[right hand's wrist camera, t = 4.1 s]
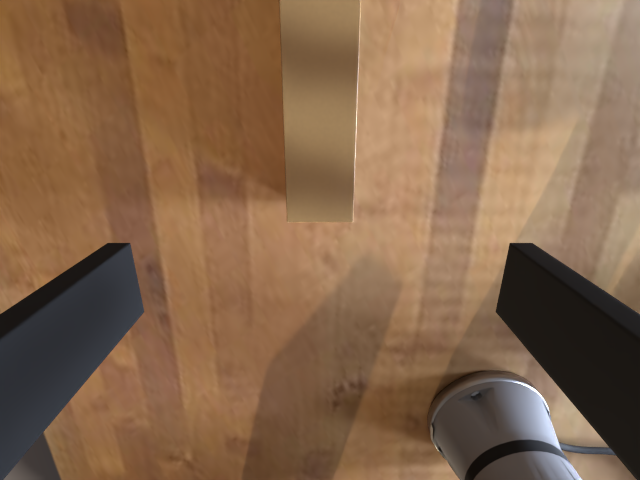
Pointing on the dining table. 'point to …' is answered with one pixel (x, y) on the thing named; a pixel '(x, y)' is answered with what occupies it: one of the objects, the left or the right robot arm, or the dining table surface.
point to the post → (320, 107)
